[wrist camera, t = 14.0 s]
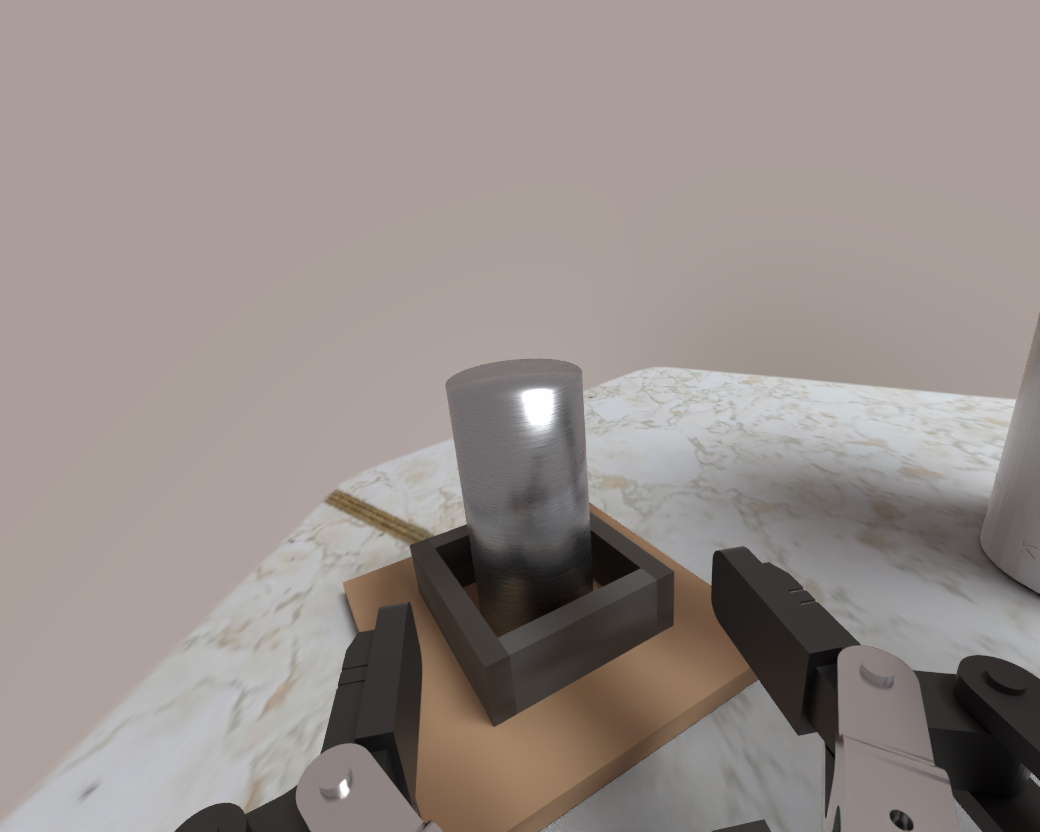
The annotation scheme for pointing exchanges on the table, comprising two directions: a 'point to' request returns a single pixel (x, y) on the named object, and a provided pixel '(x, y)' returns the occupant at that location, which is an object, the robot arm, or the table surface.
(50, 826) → the table surface
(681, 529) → the table surface
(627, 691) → the wooden board with frame
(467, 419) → the grey metal cylinder
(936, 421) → the table surface
